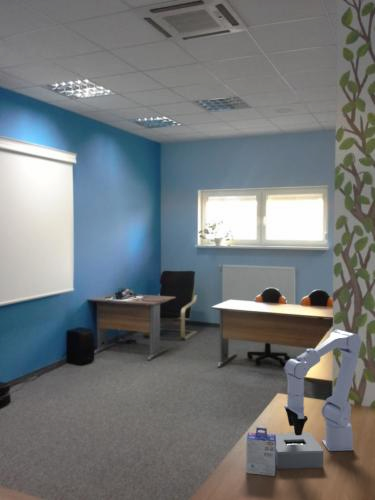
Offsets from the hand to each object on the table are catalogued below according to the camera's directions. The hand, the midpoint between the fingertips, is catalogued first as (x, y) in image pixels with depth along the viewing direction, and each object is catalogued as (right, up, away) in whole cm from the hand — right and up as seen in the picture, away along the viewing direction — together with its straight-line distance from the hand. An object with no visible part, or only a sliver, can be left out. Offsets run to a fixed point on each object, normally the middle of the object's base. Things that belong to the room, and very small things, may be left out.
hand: (295, 430), depth 169 cm
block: (0, -10, +1) cm, 11 cm away
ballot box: (0, -10, +1) cm, 10 cm away
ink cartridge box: (-14, -11, -8) cm, 19 cm away
